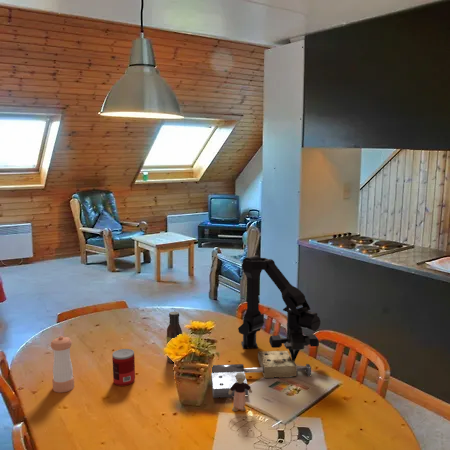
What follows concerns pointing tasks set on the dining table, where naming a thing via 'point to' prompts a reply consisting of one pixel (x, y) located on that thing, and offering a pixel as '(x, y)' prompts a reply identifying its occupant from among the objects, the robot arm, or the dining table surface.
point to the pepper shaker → (62, 365)
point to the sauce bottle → (173, 328)
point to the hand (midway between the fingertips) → (293, 361)
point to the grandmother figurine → (239, 392)
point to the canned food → (123, 367)
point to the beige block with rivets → (277, 364)
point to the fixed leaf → (226, 377)
